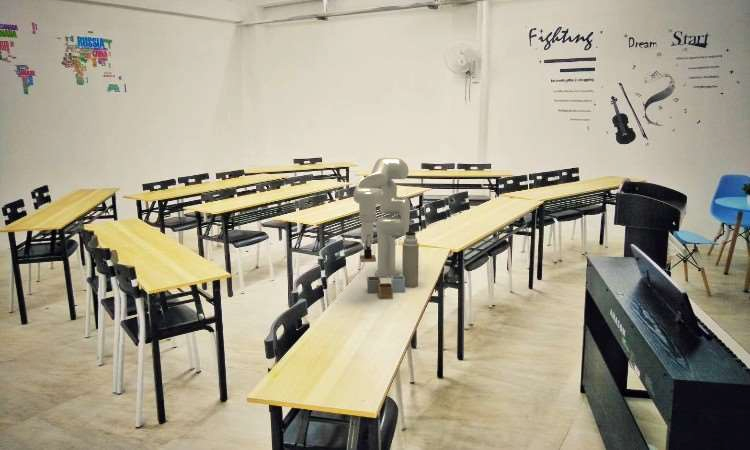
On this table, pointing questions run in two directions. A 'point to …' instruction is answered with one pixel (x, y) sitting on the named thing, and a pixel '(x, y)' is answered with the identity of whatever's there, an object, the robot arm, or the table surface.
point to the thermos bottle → (410, 260)
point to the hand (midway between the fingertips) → (367, 256)
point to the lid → (367, 259)
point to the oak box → (385, 291)
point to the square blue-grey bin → (398, 283)
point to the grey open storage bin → (373, 284)
